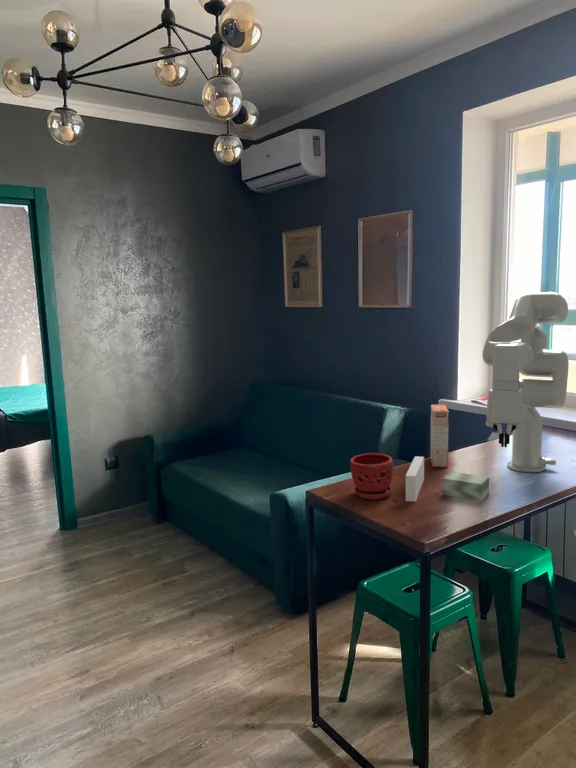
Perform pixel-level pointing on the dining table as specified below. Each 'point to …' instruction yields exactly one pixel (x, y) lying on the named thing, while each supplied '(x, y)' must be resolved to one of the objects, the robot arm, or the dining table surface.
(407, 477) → the board
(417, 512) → the dining table surface
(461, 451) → the dining table surface
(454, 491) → the block
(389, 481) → the plant pot
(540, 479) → the dining table surface
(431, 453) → the cracker box
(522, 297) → the robot arm
